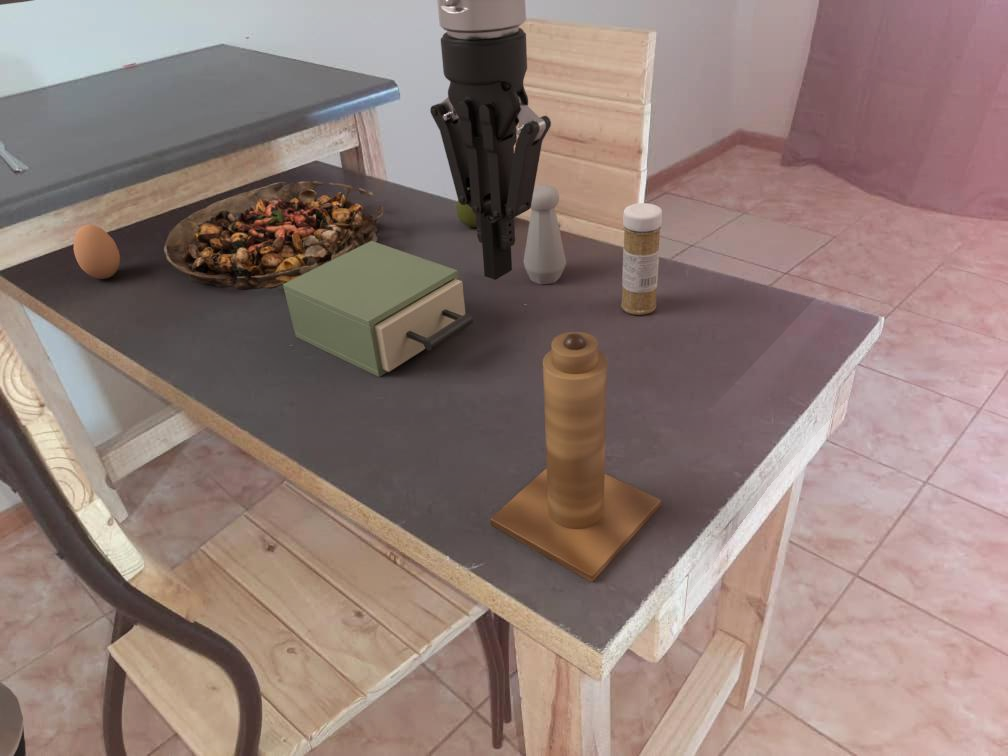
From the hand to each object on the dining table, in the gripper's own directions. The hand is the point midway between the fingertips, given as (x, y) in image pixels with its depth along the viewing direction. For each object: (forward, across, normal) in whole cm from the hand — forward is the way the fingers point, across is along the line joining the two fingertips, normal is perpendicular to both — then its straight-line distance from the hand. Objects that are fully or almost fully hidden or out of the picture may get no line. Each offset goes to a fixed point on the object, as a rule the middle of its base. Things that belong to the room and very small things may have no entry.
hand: (498, 272), depth 81 cm
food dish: (+13, -53, +8) cm, 55 cm away
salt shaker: (+13, -11, +22) cm, 28 cm away
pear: (+13, -31, +30) cm, 45 cm away
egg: (+14, -66, -14) cm, 69 cm away
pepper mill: (+13, +19, -13) cm, 26 cm away
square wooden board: (+14, +19, -13) cm, 27 cm away
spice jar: (+13, +4, +22) cm, 26 cm away
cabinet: (+13, -20, -1) cm, 24 cm away
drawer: (+12, -16, -1) cm, 20 cm away
